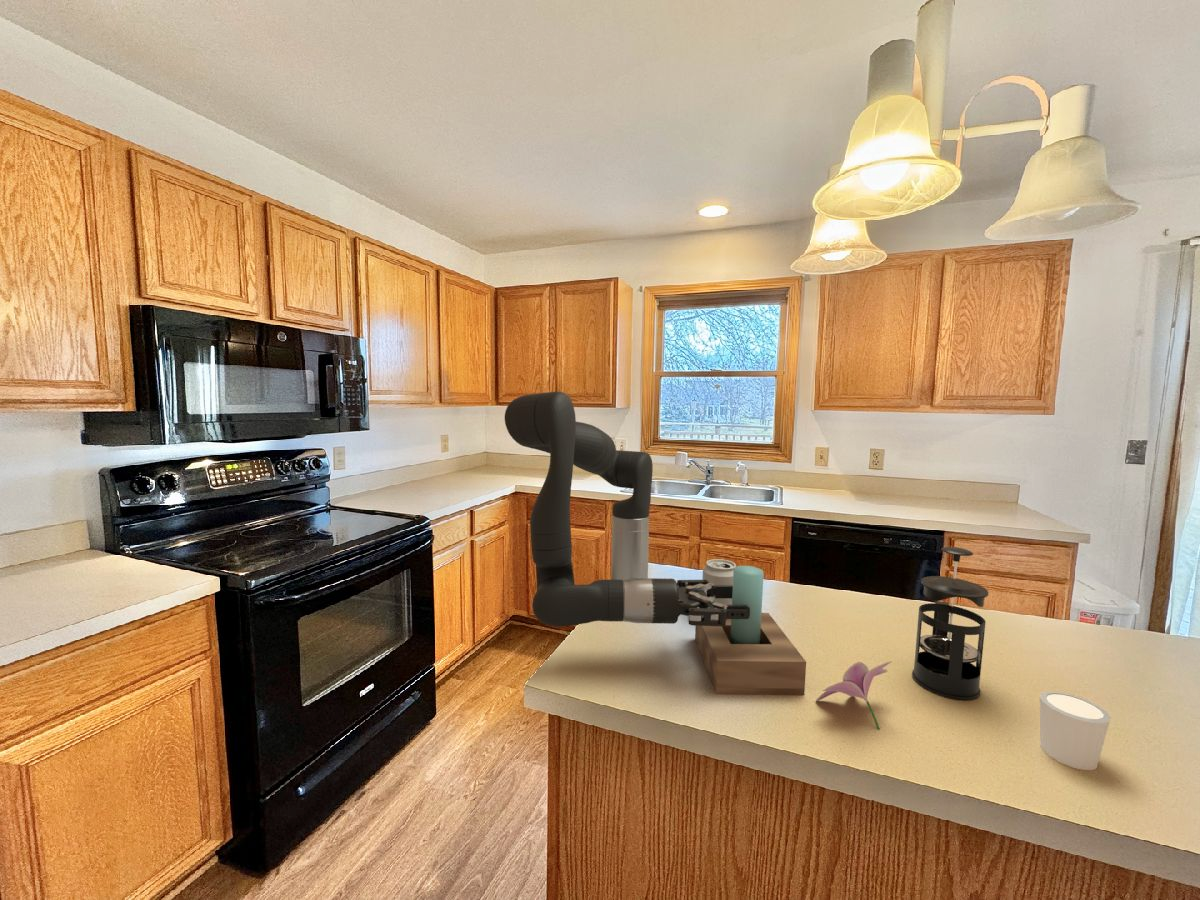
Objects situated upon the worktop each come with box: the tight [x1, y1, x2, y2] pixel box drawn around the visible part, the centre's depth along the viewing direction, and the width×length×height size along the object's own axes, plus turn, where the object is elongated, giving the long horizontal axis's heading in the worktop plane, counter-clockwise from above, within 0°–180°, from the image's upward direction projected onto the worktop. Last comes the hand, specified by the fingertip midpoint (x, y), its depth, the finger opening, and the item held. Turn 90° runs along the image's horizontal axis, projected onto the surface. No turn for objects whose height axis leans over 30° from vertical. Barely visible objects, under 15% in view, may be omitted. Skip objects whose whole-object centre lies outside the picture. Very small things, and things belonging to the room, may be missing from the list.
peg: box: [730, 565, 765, 644], centre depth 88 cm, size 5×5×16 cm
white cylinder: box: [1039, 690, 1111, 771], centre depth 67 cm, size 7×7×7 cm
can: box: [702, 558, 737, 609], centre depth 107 cm, size 8×8×12 cm
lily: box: [815, 661, 893, 730], centre depth 75 cm, size 12×12×10 cm
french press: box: [911, 546, 989, 701], centre depth 83 cm, size 12×9×23 cm
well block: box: [694, 612, 807, 696], centre depth 89 cm, size 18×14×6 cm
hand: (741, 601), depth 88 cm, fingers open, 8 cm apart
